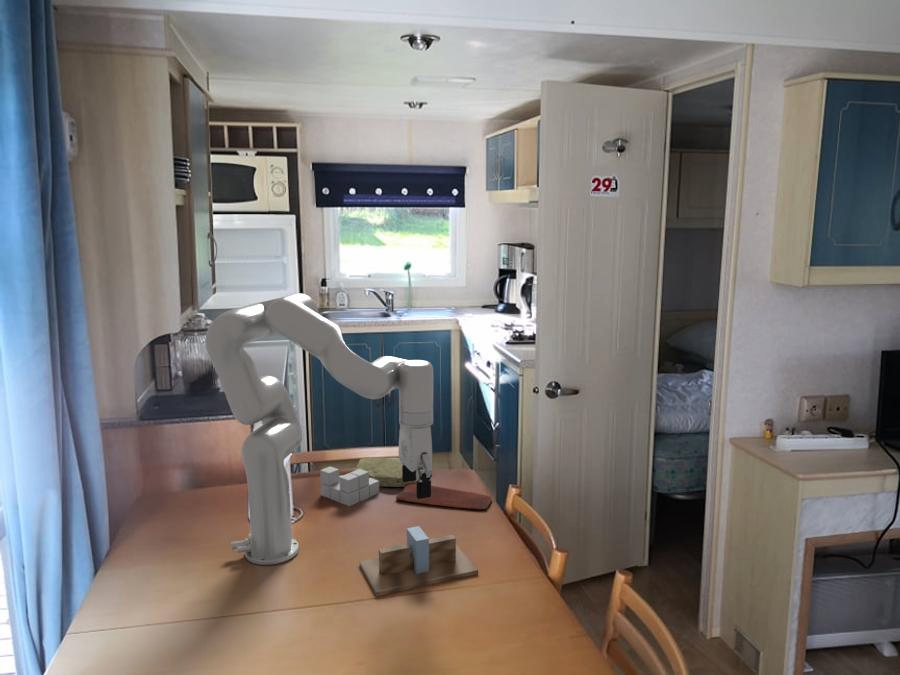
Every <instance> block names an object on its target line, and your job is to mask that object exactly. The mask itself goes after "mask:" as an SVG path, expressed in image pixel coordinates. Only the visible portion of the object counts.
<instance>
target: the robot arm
mask: <svg viewBox="0 0 900 675" xmlns="http://www.w3.org/2000/svg"><path fill="white" fill-rule="evenodd" d="M205 334H206V335H205V347H206V348H205V349H206V351H207V354H208V357H209V359H210V361H211V363H212V365H213V367H214V369H215V372H216V374H217V376H218V379H219V382H220V384H221V388H222V390H223V392H224V395H225V396H226V397H225V398H226V400H227V403H228V405H229V407H230V410H231V412H232V414H233V417H234V418H235V420H236V421H237V422H238V423H240V424H242V425H244V426H250V425H251V426H252V425H255V424H257V423H260V422H261V423H262V424H261V426H259V427H258V428H256V429H254V430H253V431H251V433H250V434H248V435H247V436H246V438H245V439H244V441H243V443H242V446H241V456H242V461H243V462H242V463H243V466H244V469H245V475H246V483H247V495H248V506H249V507H248V510H249V525H250V526H249V527H250V532H249V533H248V537H247V538H246V537H245V538H244V540H243V539H242V540H235V541H231V542H230V546H231V551H235V550H237V553H238V554H241V553H243V552H244V554H245V556H244V557H245V558H246V560H247V561H248V562H251V563H252V564H255V565H261V566H262V565H263V566H271V565H277V564H280V563H284V562H286V561H289V560H291V559H292V558H294V557H295V556H296V555H297V554H298V552H299V551H300V550H299V549H300V544H299V542H298V541H297V540H296V539H295V538H294V537H293V535H292V534H293V533H292V515H291V495H290V494H291V492H290V480H289V475H288V472H287V469H286V467H285V463H284V462H285V459H286V458H287V457H288V456H290V455H291V454H292V453H294V452H295V451H296V449H298V448H299V446H300V445H301V444H302V440H303V429H302V426H301V423H300V419H299V417H298V415H297V412H296V409H295V406H294V404H293V401H292V399H291V395H290V394H289V392H288V390H287V388H286V386H285V384H283V382H281V380H279V378H277V377H275V376H273V375H259V372H258V370H257V366H256V364H255V362H254V360H253V358H252V357H251V356H250V355H249V353H248V352H247V351H246V350H245V348H244V347H245V346H246V345H248V344H250V343H254V342H255V341H259V340H261V339H264V338H268V337H272V336H275V335H279V336H281V337H283V338H284V339H285V340H288V341H289V342H290V343H293V344H294V345H296V346H298V347H299V348H300V349H302V350H304V351H306V352H308V353H309V354H310V355H312V356H313V357H315V358H316V359H318V360H319V361H320V363H321V364H322V366H323V367H324V369H325V370H326V371H327V372H328V373H329V374H330V375H331V377H332V378H333V379H334V380H335V381H337V382H338V383H339V384H340V385H342V386H343V387H346V388H347V389H349V390H350V391H352V392H353V393H356V394H357V395H359V396H361V397H363V398H366V399H370V400H379V399H382V398H384V397H385V396H386V395H388V394H389V393H390V392H391V391H393V390H396V389H398V412H399V413H398V420H399V421H398V423H399V432H398V433H399V435H398V458H399V459H400V460H401V461H402V464H403V465H402V481H403V482H410V481H415V480H416V473H417V478H418V481H416V497H417V498H418V499H422V498H429V497H431V486H432V480H433V479H432V477H433V465H432V464H433V441H432V440H433V439H432V427H431V426H432V425H433V424H434V366H433V365H432V363H431V362H430V361H428V360H424V359H423V360H422V359H404V358H399V357H395V356H390V355H389V356H388V355H384V356H380V357H378V358H376V359H375V360H373V361H372V362H369V361H368V360H366V359H364V358H362V357H361V356H359V355H358V354H357V353H355V352H353V350H351V349H350V348H349V346H347V345H346V342H345V341H344V338H343V332H342V328H341V327H340V326H339V325H338V324H337V323H334V322H333V321H330V320H329V319H327V317H324V316H322V315H321V314H320V313H319V309H318V305H317V303H316V302H315V300H314V299H313V298H312V297H311V296H309V295H307V294H305V293H302V292H301V293H299V292H297V293H291V294H289V295H285V296H281V297H277V298H274V299H268V300H265V301H261V302H255V303H251V304H248V305H244V306H240V307H235V308H233V309H228V310H227V311H225V312H222V313H221V314H220V315H218V316H217V317H216V318H215V319H214V320H212V321H211V323H210V324H209V326H208V328H207V331H206V333H205ZM419 466H422V467H419ZM420 471H421V473H422V472H423V473H422V474H421V473H420Z"/></svg>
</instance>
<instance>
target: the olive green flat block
mask: <svg viewBox="0 0 900 675" xmlns="http://www.w3.org/2000/svg"><path fill="white" fill-rule="evenodd" d="M402 465H403V464H402V461H401V460H400V459H399V457H370V456H368V457H367V456H366V457H361V458H360V459H359V461H358V464H357V466H356V468H355V470H358V469H362V470H365V471H368V472H369V478H372V479H375V480H378V481H379V487H385V488H386V487H390V488H391V487H392V488H394V487H395V488H396V487H398V488H399V487H401V488H402V487H405V485H406V484H408V483H414V484H416V481H418V478H417V473H416V480H415V481H410V482H403V481H402ZM419 467H423V466H419ZM420 473H422V471H420Z"/></svg>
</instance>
